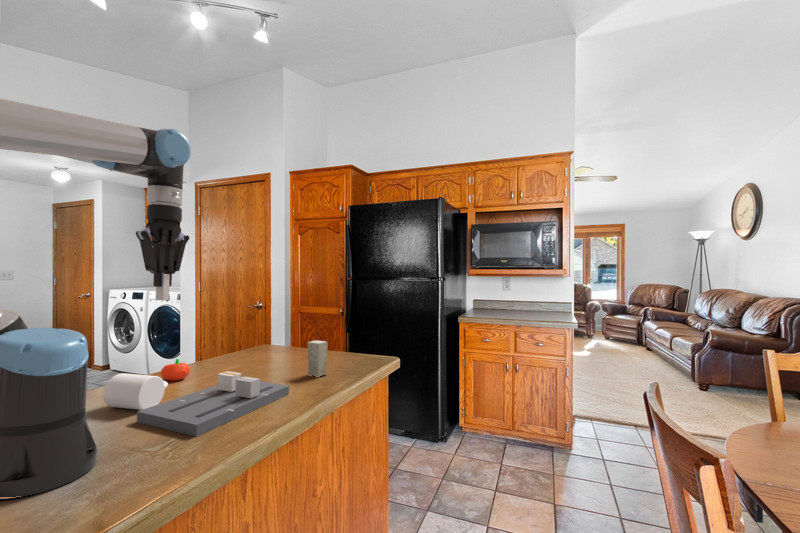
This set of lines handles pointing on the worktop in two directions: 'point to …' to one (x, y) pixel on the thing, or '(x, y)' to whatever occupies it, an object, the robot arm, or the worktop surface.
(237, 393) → the fader
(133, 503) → the worktop surface
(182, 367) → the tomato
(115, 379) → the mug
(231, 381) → the fader
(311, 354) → the box
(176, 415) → the console
